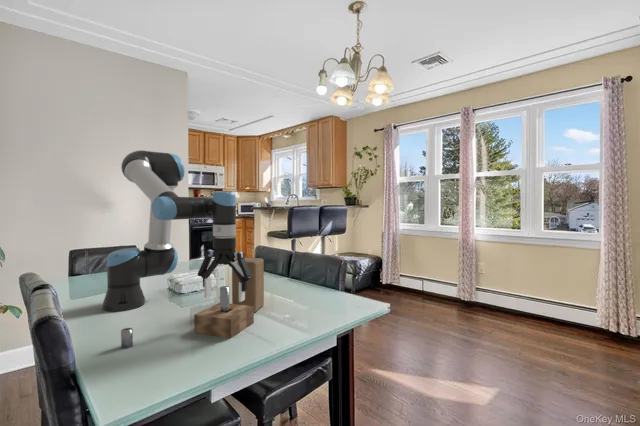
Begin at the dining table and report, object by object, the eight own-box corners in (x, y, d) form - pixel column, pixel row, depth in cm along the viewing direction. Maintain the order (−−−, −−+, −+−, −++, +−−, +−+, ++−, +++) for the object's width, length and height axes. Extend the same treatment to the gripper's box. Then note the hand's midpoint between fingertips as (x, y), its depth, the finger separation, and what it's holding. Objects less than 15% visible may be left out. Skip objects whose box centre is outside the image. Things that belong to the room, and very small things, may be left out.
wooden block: (255, 313, 127) (254, 262, 126) (231, 312, 129) (230, 261, 128) (264, 305, 137) (264, 258, 136) (242, 304, 139) (241, 257, 138)
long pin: (218, 328, 112) (218, 287, 111) (223, 325, 115) (223, 285, 114) (226, 329, 111) (225, 288, 110) (231, 326, 114) (231, 286, 113)
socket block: (194, 332, 108) (194, 314, 108) (220, 318, 122) (220, 302, 121) (231, 338, 104) (230, 319, 104) (253, 323, 117) (253, 306, 117)
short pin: (118, 347, 97) (118, 331, 97) (127, 343, 100) (127, 327, 100) (126, 349, 96) (126, 332, 96) (135, 345, 99) (134, 328, 99)
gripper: (186, 236, 112) (187, 297, 113) (250, 239, 104) (250, 305, 105) (201, 234, 119) (201, 292, 120) (262, 237, 111) (262, 299, 112)
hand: (224, 298), depth 113 cm, fingers open, 13 cm apart
